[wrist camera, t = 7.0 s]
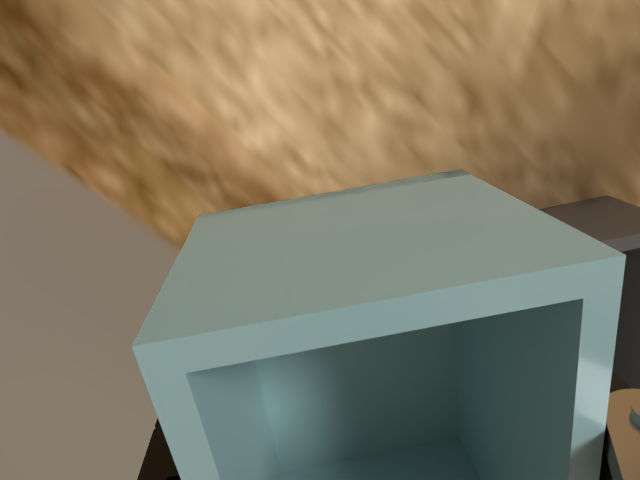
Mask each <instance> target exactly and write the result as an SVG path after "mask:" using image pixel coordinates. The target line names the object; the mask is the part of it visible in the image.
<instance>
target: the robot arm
mask: <svg viewBox="0 0 640 480" xmlns="http://www.w3.org/2000/svg"><path fill="white" fill-rule="evenodd" d="M155 427H156V428H155V429H154V431H153V434H152V437H151V440H150V443H149V446H148V449H147V452H146V455H145V458H144V461H143V464H142V467H141V470H140V473H139V476H138V479H137V480H181V478H180V476H179V473H178V470H177V468H176V465H175V462H174V460H173V457H172V454H171V452H170V449H169V446H168V444H167V441H166V438H165V436H164V433H163V430H162V428H161V425H160V422H159V420H158V419H157V422H156V425H155ZM599 480H640V389H632V388H631V387H629V386H628V385H627V384H626V383H625V382H624V381H623V380H622V379H620V378H619V377H618V376H617V375H616V374H615V373H614V372H612V377H611V385H610V394H609V402H608V410H607V418H606V427H605V435H604V443H603V452H602V460H601V468H600V476H599Z"/></svg>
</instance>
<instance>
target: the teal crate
mask: <svg viewBox="0 0 640 480" xmlns="http://www.w3.org/2000/svg"><path fill="white" fill-rule="evenodd" d="M625 261H626V255H625V254H623V253H621V252H619V251H618V250H616V249H614V248H612V247H610V246H608V245H606V244H604V243H602V242H600V241H598V240H596V239H594V238H592V237H591V236H589V235H587V234H585V233H583V232H581V231H579V230H577V229H575V228H573V227H571V226H569V225H567V224H565V223H564V222H562V221H560V220H558V219H556V218H554V217H552V216H550V215H548V214H546V213H544V212H542V211H540V210H538V209H537V208H535V207H533V206H531V205H529V204H527V203H525V202H523V201H521V200H519V199H517V198H515V197H513V196H511V195H510V194H508V193H506V192H504V191H502V190H500V189H498V188H496V187H494V186H492V185H490V184H488V183H486V182H484V181H483V180H481V179H479V178H477V177H475V176H473V175H471V174H469V173H467V172H465V171H463V170H455V171H449V172H443V173H438V174H432V175H426V176H421V177H415V178H409V179H403V180H398V181H392V182H386V183H381V184H375V185H369V186H363V187H358V188H352V189H346V190H341V191H335V192H329V193H323V194H318V195H312V196H306V197H301V198H295V199H289V200H283V201H278V202H272V203H266V204H261V205H255V206H249V207H244V208H238V209H232V210H226V211H221V212H215V213H209V214H204V215H199V216H198V218H197V220H196V222H195V224H194V226H193V228H192V230H191V232H190V234H189V236H188V238H187V240H186V241H185V243H184V245H183V247H182V249H181V251H180V253H179V255H178V257H177V259H176V261H175V263H174V265H173V267H172V269H171V271H170V273H169V275H168V276H167V278H166V280H165V282H164V284H163V286H162V288H161V290H160V292H159V294H158V296H157V298H156V300H155V302H154V304H153V306H152V307H151V310H150V311H149V314H148V315H147V317H146V319H145V321H144V323H143V325H142V327H141V329H140V331H139V333H138V335H137V337H136V339H135V341H134V343H133V344H132V346H131V348H132V350H133V353H134V355H135V358H136V361H137V363H138V366H139V369H140V371H141V374H142V377H143V380H144V382H145V385H146V388H147V390H148V393H149V396H150V398H151V401H152V404H153V406H154V409H155V411H156V414H157V417H158V420H159V422H160V425H161V428H162V430H163V433H164V436H165V438H166V441H167V444H168V446H169V449H170V452H171V454H172V457H173V460H174V462H175V465H176V468H177V470H178V473H179V476H180V478H181V480H599V476H600V468H601V460H602V452H603V443H604V435H605V427H606V418H607V410H608V402H609V394H610V385H611V377H612V369H613V360H614V352H615V344H616V335H617V327H618V319H619V311H620V302H621V294H622V286H623V277H624V269H625Z"/></svg>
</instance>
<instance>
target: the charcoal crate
mask: <svg viewBox="0 0 640 480" xmlns="http://www.w3.org/2000/svg"><path fill="white" fill-rule="evenodd" d="M540 211H542V212H544V213H546V214H548V215H550V216H552V217H554V218H556V219H558V220H560V221H562V222H564V223H565V224H567V225H569V226H571V227H573V228H575V229H577V230H579V231H581V232H583V233H585V234H587V235H589V236H591V237H592V238H594V239H596V240H598V241H600V242H602V243H604V244H606V245H608V246H610V247H612V248H614V249H616V250H618V251H619V252H621V253H623V254H625V255H626V261H625V269H624V277H623V286H622V294H621V302H620V311H619V319H618V327H617V335H616V344H615V352H614V360H613V369H612V372H614V373H615V374H616V375H617V376H618V377H619V378H620V379H622V380H623V381H624V382H625V383H626V384H627V385H628V386H629V387H631V388H632V389H640V207H638V206H635V205H632V204H629V203H627V202H624V201H621V200H618V199H615V198H613V197H610V196H603V197H599V198H594V199H589V200H584V201H579V202H574V203H569V204H564V205H559V206H554V207H549V208H545V209H540Z"/></svg>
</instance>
